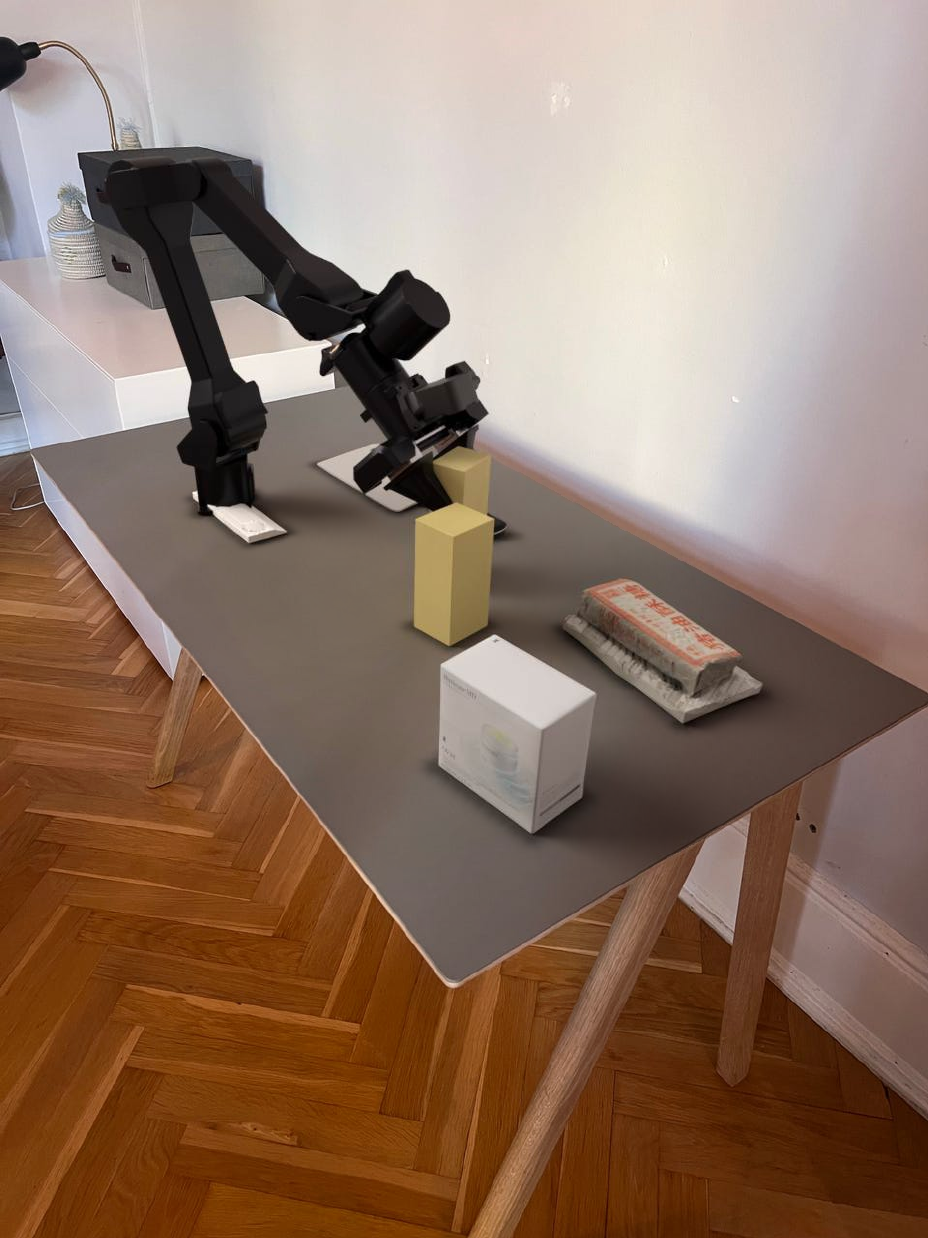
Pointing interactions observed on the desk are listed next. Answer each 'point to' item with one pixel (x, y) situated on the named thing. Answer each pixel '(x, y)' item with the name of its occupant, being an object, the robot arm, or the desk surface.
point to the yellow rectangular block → (465, 477)
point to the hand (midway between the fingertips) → (470, 509)
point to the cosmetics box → (514, 731)
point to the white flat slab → (246, 521)
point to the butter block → (452, 572)
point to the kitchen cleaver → (389, 499)
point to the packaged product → (659, 650)
